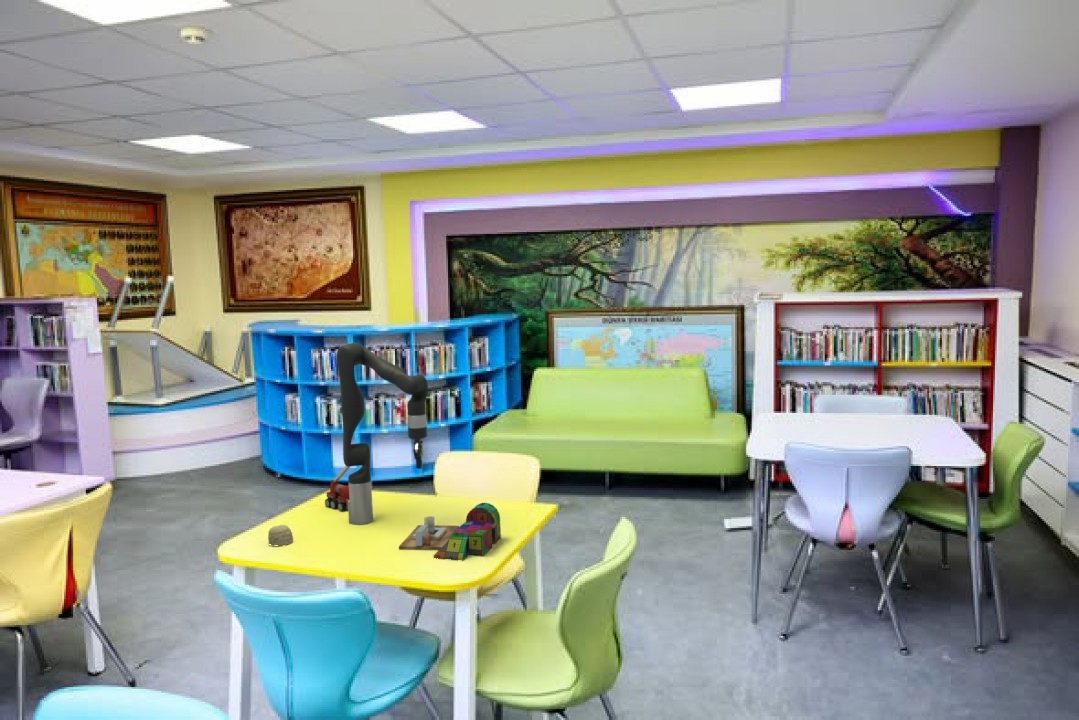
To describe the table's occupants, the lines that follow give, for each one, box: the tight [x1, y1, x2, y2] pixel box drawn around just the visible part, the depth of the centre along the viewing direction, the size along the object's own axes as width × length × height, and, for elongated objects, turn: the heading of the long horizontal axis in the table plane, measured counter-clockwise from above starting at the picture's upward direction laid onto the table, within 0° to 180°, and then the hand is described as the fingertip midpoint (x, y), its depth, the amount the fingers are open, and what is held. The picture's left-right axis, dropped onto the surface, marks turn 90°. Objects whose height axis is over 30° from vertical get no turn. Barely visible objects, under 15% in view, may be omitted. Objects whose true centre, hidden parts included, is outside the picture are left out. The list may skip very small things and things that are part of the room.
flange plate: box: [412, 524, 447, 546], centre depth 299 cm, size 18×10×6 cm, turn 169°
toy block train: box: [433, 502, 502, 562], centre depth 290 cm, size 25×17×14 cm
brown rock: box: [267, 524, 294, 547], centre depth 304 cm, size 9×10×10 cm
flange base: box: [398, 516, 460, 551], centre depth 303 cm, size 17×25×8 cm
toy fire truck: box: [324, 465, 351, 512], centre depth 350 cm, size 11×16×18 cm
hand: (419, 468), depth 311 cm, fingers closed
